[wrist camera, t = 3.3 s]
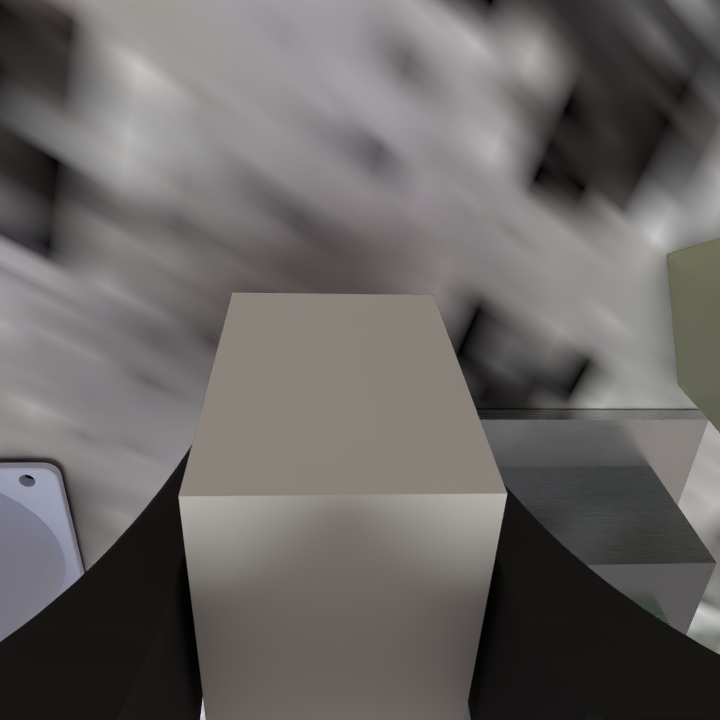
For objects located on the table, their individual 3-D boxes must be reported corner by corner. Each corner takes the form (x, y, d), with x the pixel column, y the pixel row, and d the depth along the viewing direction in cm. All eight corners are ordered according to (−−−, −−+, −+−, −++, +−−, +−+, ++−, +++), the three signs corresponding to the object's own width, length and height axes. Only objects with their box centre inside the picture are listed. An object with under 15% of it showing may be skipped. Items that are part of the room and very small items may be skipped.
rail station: (377, 795, 35) (388, 937, 30) (414, 409, 23) (443, 536, 18) (566, 787, 35) (609, 925, 30) (699, 409, 23) (807, 531, 18)
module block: (246, 533, 16) (214, 791, 11) (232, 292, 13) (178, 496, 8) (409, 531, 17) (452, 783, 11) (433, 294, 13) (507, 493, 8)
